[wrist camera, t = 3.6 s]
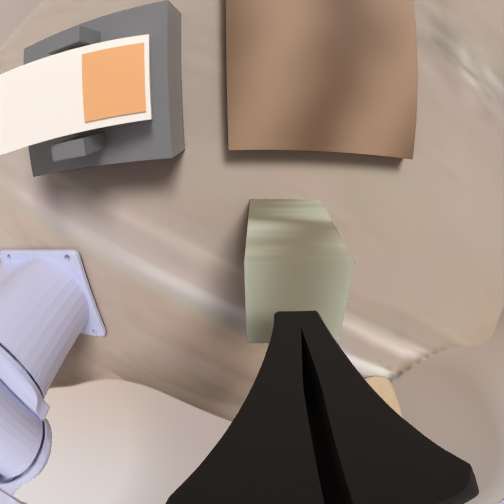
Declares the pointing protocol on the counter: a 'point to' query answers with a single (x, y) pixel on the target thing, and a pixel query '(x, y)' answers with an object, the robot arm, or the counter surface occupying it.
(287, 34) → the walnut board
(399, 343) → the counter surface
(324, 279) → the block
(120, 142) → the switch base
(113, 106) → the rocker
